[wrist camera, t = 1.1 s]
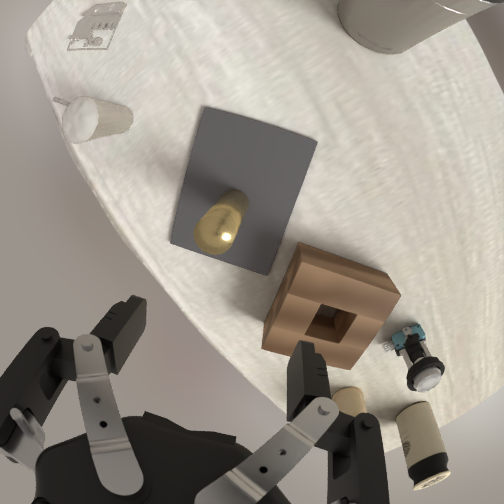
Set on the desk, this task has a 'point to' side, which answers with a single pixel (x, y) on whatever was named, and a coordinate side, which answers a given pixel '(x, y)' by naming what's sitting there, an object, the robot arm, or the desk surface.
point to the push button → (416, 358)
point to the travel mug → (422, 445)
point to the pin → (221, 223)
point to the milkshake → (93, 119)
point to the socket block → (331, 294)
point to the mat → (243, 184)
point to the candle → (350, 401)
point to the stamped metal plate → (97, 23)
